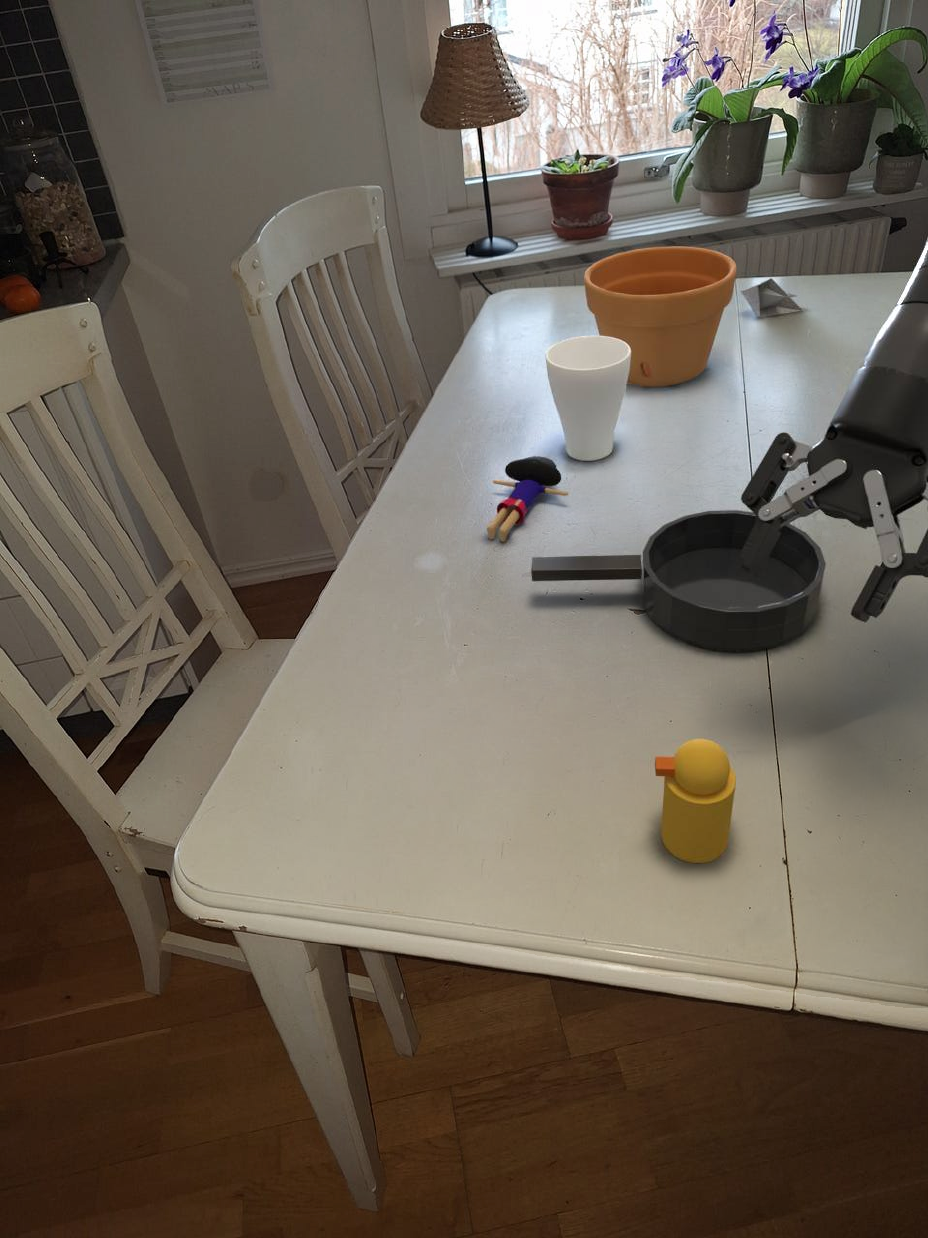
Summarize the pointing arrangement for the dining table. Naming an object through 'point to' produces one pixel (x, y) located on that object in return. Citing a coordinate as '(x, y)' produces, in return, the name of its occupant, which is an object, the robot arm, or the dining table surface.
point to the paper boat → (769, 299)
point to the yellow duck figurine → (696, 800)
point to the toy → (524, 491)
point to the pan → (729, 583)
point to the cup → (588, 391)
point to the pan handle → (586, 568)
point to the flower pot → (662, 308)
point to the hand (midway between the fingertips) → (801, 594)
